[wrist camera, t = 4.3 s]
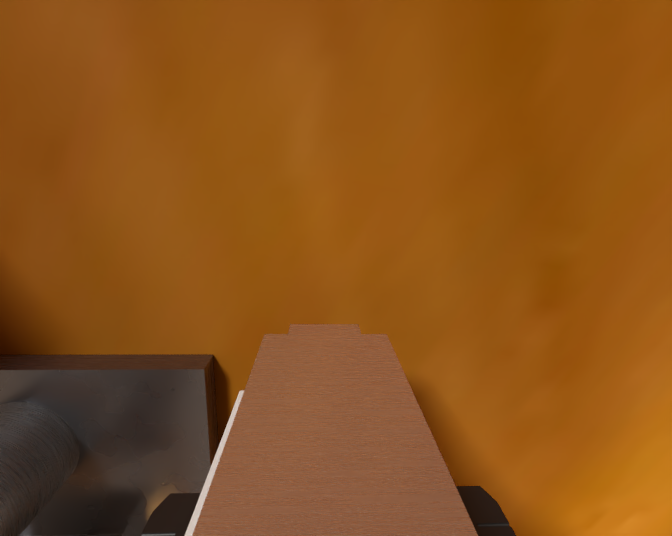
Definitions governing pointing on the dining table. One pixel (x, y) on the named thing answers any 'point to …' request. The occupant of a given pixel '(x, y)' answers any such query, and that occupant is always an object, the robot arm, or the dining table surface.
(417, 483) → the rectangular block
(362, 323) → the dining table surface
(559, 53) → the dining table surface
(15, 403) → the grey press stand
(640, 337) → the dining table surface
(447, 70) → the dining table surface
